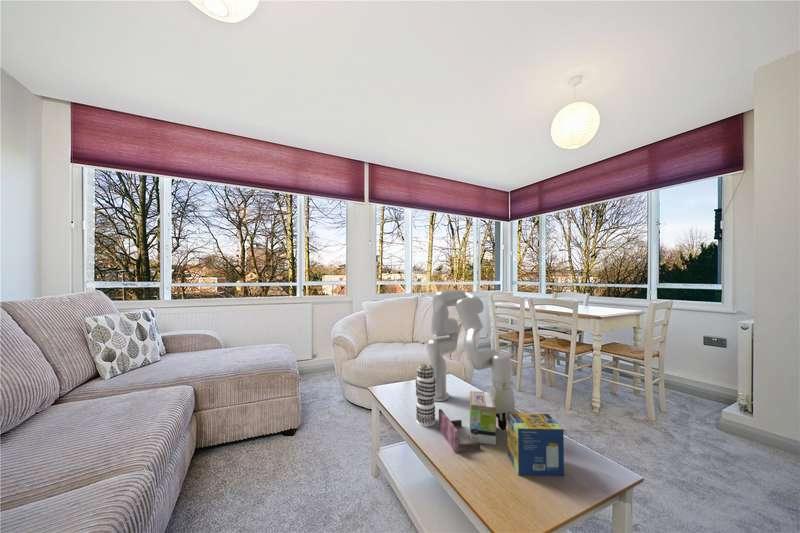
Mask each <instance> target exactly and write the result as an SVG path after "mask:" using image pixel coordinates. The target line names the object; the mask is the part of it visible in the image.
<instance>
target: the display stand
mask: <svg viewBox="0 0 800 533" xmlns="http://www.w3.org/2000/svg"><path fill="white" fill-rule="evenodd" d="M462 423H463V422H462V419H455V420H454V419H453V420H450V419H449V417H448V416H447V415H446V413H445V412H444V410H442V409H441V408H439V409H438V429H439V431H440V432H441V434H442V435H443V437H444V438H445V440H446V441H447V443H448V444H449V446H450V447H451V449H452V451H453V452H454V453H455V454H458V453H459V454H460V453H464V452H465V453H466V452H472V451H480V450H481V443H480V442H479V441H478V442H471V441H470V442H465V443H459V431H458V429H457V428H462V426H463V425H462Z"/></svg>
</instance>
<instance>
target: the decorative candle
mask: <svg viewBox="0 0 800 533" xmlns="http://www.w3.org/2000/svg"><path fill="white" fill-rule="evenodd" d="M415 370H416V373H417V374H416V380H415V388H416V389H415V396H416V397H417V398H416V399H417V400H416V417H415V418H416V424H418V425H419V426H422V427H431V426H434V425H435V424H436V413H435V412H436V406H435V401H434V397H435V393H434V392H435V389H434V388H435V385H433V384H435V383H436V382H435V381H434V380H435V377H434V368H432V366H431V365H429V364H427V363H426V364H425V363H423V364H420V365H418V367H416V369H415Z"/></svg>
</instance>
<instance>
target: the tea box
mask: <svg viewBox="0 0 800 533" xmlns="http://www.w3.org/2000/svg"><path fill="white" fill-rule="evenodd" d="M469 430H470V432H469V434H470V435H469V436H470V443H471V442H478V441H479V442H480V444H486V445H494V446H496V445H497V417H496V406H495V401H494V400H493V399H491V398H490V397H489V392H486V391H485V392H484V391H476V390H469Z"/></svg>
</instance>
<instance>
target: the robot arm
mask: <svg viewBox="0 0 800 533" xmlns="http://www.w3.org/2000/svg"><path fill="white" fill-rule="evenodd" d="M449 307H455V309H456V311H457V314H458V316H459V319H460V321H461V324H462V327H463V328H464V331H465V335H464V338H463V349H464V353H465V355H466V356H465V357H466V358H467V360H468V363H469V365H470V366H471V367H472V368H473V369H474V370H476V371H483V370H486V369H490V368H491V381H492V382H491V386H490V387H489V392H488V393H489V397H490V398H491V399H493V400H494V401H495V406H496V419H497V426H498V427H499V429H500V430H501V431H506V430H507V414H515V409H516V407H515V406H516V404H515V403H516V402H515V394H514V390H513V387H512V385H513V384H514V381H513V380H512V373H511V372H512V369H511V368H512V365H511V364H512V363H511V356H509V355H508V354H505V353H500V352H498V351H497V350H494V349H486V350H485V349H484V350H480V351H479V349H478V346H477V343H476V338H477V335H478V333H479V332H480V331H481V330H482V329H483V328H484V324H483V323H482V320H481V318H480V316H479V314H480V313H482V312H483V311H484V307H485V306H484V303H483V300H481V298H480V297H478V296H477V295H474V294H472V293H471V292H468V291H466V290H463V289H444V290H439V291H437V292H436V293H435V294H434V295H433V298H432V318H431V326H430V328H431V329H430V330H431V334H432V335H433V336H434V338H431V339H429V340H428V341H427V342H426V353H427V358H428V361H427V362H428V365H431V366H432V368H434V377H435V380H434V381H435V382H436V383H435V384H433V385H435V388H434V389H435V392H434V393H435V397H434V402H444V401H447V400H449V398H450V393H449V392H447V363H446V360H445V358H444V357H443V356H444V355H445V356H446V355H451V354H453V353H455V351H456V350H457V349H458V348H457V347H458V343H459V342H458V340H459V333H460V327H459V322H458V320H456V318H454V317H449V314H450V312H449Z"/></svg>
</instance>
